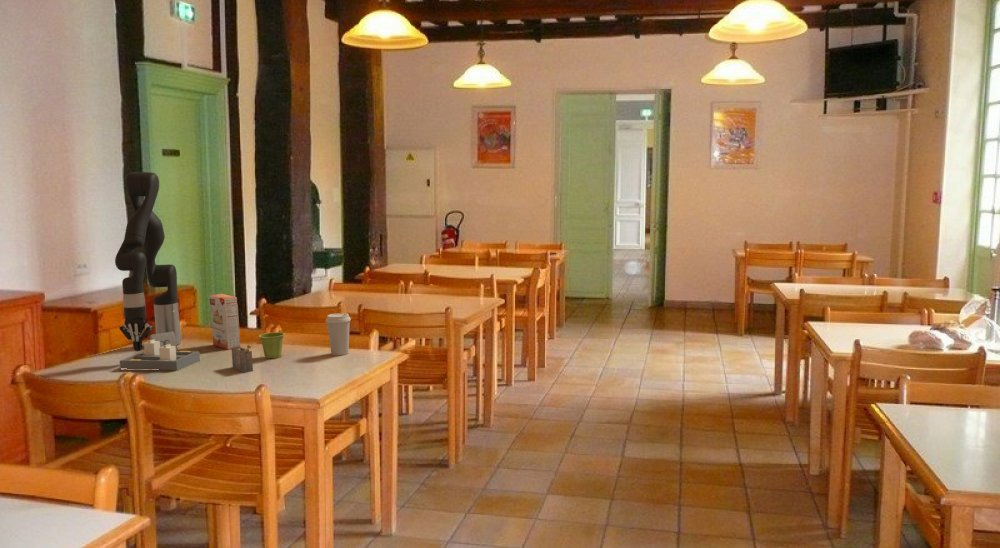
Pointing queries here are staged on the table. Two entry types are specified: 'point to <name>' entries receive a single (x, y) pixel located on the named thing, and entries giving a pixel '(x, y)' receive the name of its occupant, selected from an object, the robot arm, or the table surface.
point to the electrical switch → (165, 339)
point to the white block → (152, 347)
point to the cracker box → (225, 321)
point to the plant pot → (272, 344)
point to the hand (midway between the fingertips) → (138, 350)
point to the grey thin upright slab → (242, 359)
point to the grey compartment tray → (160, 361)
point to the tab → (168, 352)
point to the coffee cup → (338, 333)
